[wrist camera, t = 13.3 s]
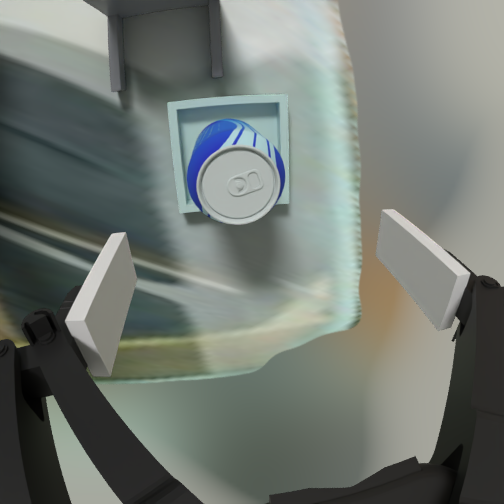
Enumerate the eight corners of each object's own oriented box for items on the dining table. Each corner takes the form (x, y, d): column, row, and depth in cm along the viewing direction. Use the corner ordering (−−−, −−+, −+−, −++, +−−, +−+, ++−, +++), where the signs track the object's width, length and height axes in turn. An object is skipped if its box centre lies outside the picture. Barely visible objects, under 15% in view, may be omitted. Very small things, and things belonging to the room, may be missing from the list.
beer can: (247, 190, 41) (268, 247, 27) (185, 171, 39) (171, 218, 25) (271, 131, 38) (308, 155, 24) (207, 108, 36) (205, 118, 22)
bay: (117, 91, 33) (81, 93, 23) (113, 12, 28) (79, -13, 18) (222, 77, 35) (227, 70, 24) (218, -4, 29) (222, -39, 19)
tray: (181, 206, 42) (179, 213, 40) (169, 101, 35) (167, 102, 33) (285, 197, 43) (289, 203, 41) (283, 93, 36) (287, 94, 34)
